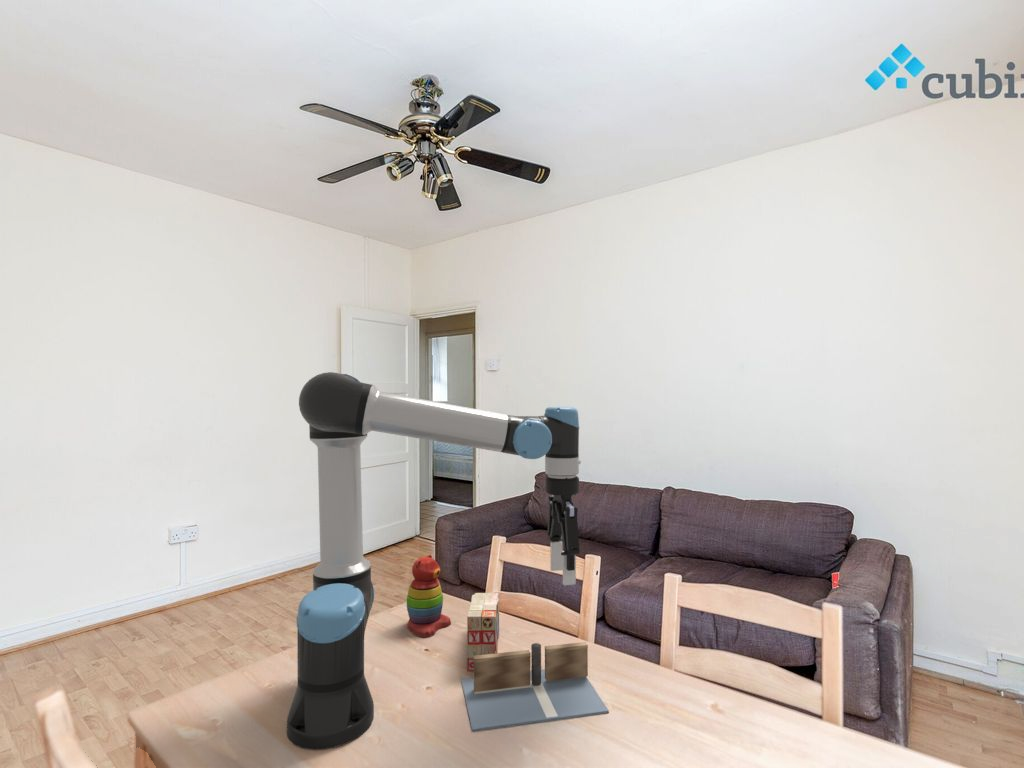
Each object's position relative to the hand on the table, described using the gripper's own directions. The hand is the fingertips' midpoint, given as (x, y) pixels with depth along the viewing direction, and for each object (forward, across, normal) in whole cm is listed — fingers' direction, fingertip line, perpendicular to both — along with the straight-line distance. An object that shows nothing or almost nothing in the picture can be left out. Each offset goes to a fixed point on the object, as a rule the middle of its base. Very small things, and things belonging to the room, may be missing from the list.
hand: (562, 576), depth 118 cm
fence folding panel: (+18, -7, +1) cm, 20 cm away
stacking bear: (+20, +26, +29) cm, 44 cm away
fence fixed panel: (+19, -7, +14) cm, 25 cm away
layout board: (+19, -10, +10) cm, 24 cm away
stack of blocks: (+20, +11, +16) cm, 28 cm away
